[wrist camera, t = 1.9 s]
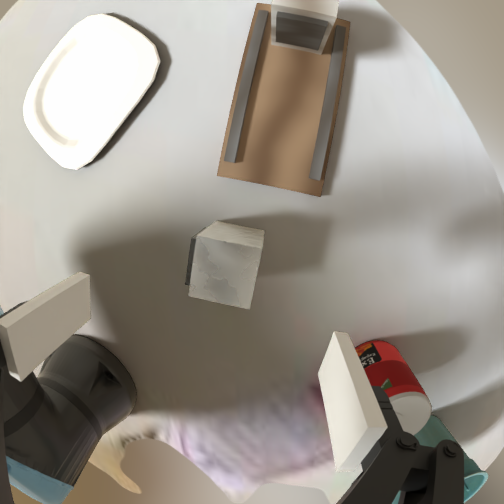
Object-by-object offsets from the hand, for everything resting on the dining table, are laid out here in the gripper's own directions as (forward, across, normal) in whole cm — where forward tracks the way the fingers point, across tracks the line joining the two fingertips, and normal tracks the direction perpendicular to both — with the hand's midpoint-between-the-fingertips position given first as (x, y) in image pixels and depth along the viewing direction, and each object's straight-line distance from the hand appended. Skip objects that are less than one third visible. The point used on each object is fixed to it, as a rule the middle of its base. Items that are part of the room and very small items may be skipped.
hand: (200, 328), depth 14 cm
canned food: (+17, +19, -11) cm, 27 cm away
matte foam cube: (+17, 0, 0) cm, 17 cm away
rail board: (+16, +2, +17) cm, 24 cm away
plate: (+17, -22, +16) cm, 32 cm away
